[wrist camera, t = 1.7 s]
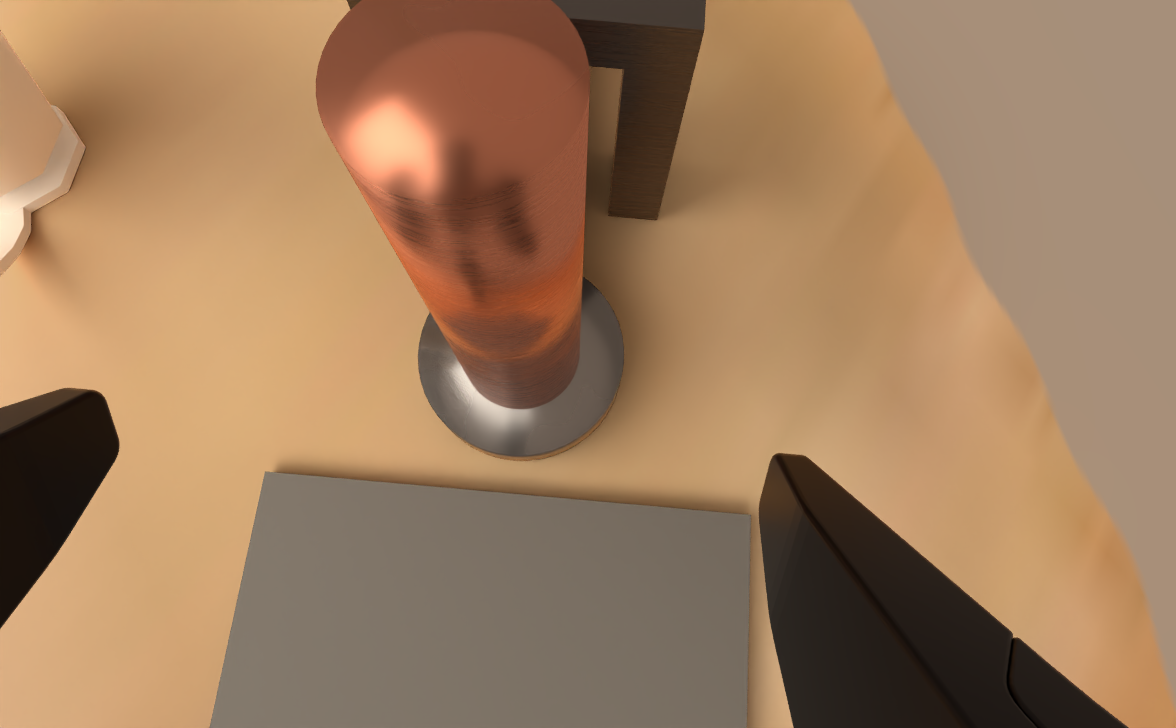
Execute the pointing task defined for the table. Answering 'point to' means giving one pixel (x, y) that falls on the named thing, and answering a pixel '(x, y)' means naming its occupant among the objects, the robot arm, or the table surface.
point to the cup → (29, 153)
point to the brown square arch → (641, 86)
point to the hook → (482, 207)
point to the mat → (484, 611)
